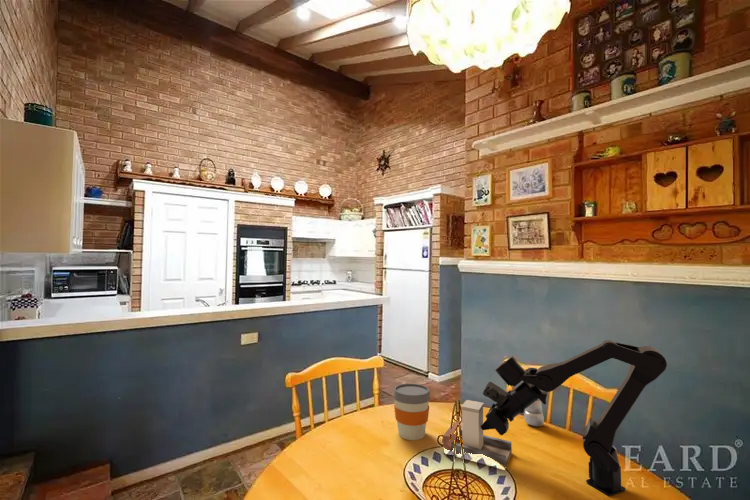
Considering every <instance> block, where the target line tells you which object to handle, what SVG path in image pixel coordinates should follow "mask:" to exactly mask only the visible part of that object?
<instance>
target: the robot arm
mask: <svg viewBox="0 0 750 500" xmlns="http://www.w3.org/2000/svg"><path fill="white" fill-rule="evenodd" d="M610 359H615V360H617V361H620V362H623V363H625V364H628V365H629V369H628V373H627V375H626V377H625V378H624V380H623V382H622V383H621V385H620V386H619V388H618V389H617V391H616V392H615V394H614V395H613V398H612V399H611V400H610V402H609V404H608V405H607V407H606V408H605V409H604V411H603V413H602V415H601V416H600V417H599V418H597V419H596V420H594V419H592V418H591V417H589V418H588V421H587V423H586V425H584V427H582V429H581V430H582V431H581V432H582V447H583V450H584V452H585V453H586V454H587V456H589V461H588V479H586V480H585V482H586V484H588V485H590V486H592V487H594V488H595V489H597V490H599V492H602V493H604V494H606V496H610V497H611V496H614V495H617V494H620V493H622V492H625V491H626V487H625V486H622V469H621V468H622V467H621V466H620V460H619V456H618V455H619V454H618V451H617V449H616V448H615V447H614V446H613V444H614V440H615V436H616V433H617V430H618V428H620V426H621V424H622V422H623V421H624V420H625V418H626V416H627V415H628V413H629V412H630V411H631V409H632V407H633V405H635V403H636V401H637V400H638V399H639V396H640V395H641V394H642V393H643V390H644V389H645V387H647V386H648V385H649V384H650V383H652V382H654V381H655V380H656V379H658V377H660V375H662V373H664V372H665V371H666V369H667V366H668V363H667V361H666V360H667V359H666V358H665V357H664V356H663V355H662V354H661V352H660V351H659V350H657V349H656V348H654V347H652V346H648V345H643V346H636V345H632V344H627V343H626V344H625V343H621V342H616V341H614V340H611V339H607V340H603V342H601V343H599V344H598V345H595V346H593V347H591V348H589V349H587V350H585V351H582V352H580V353H579V354H577V355H574V356H573V357H570V358H568V359H566V360H564V361H560V362H555V363H554V362H553V363H550V364H547V365H542V366H540V367H539V368H537V369H528V368H526V369H525V368H523V367H522V366H521V364H520V363H518V361H517V358H515V357H514V356H513V355H512V356H510V357H509V358H508V359H506V360H504V361H503V362H502V363H501V364H499V365H498V366H497V367H496V368H495V369H494V371H495V373H497V374H498V376H499V377H500V378H501V379H502V380H503V381H504V383H505V384H506V385H507V386H510V387H515V388H514V389H513V390H512V389H509V390H508V391H505V390H504V388H502V387H500V386H498V384H497V385H496V384H495V383H494V382H492V381H488V383H487V384H486V386H485V388H484V390H483V392H482V395H483V396H484V397H486V398H489V399H490V400H491V401H493V402H495V403H492V405H491V407H490V408H489V410H488V412H487V413H486V415H485V418H486V420H484V421H483V424H482V426H481V429H482V430H483V431H486V430H487V431H488V430H495V431H496V433H497V434H498V435H500V436H503V435H505V434H506V433H507V432H508V430H509V427H510V426H509V425H510V423H509V422H513V421H514V419H515V418H516V417H517V416H518V415H519V414H523V413H525V409H526V408H527V407H529V406H530V405H531V404H533V403H534V402H535V401H537V400H538V399H540V401H541V404H543V405H547V402H548V399H547V398H548V393H551V392H553V391H555V390H556V389H557V388H558V387H560V386H561V385H563V383H565V382H566V381H567V380H568V379H570V378H571V377H573V376H575V375H578V374H580V373H582V372H584V371H586V370H588V369H591V368H593V367H594V366H598V365H599V364H602V363H604V362H606V361H609V360H610ZM522 381H523V382H522ZM516 386H517V387H516ZM541 390H542V391H541Z"/></svg>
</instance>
